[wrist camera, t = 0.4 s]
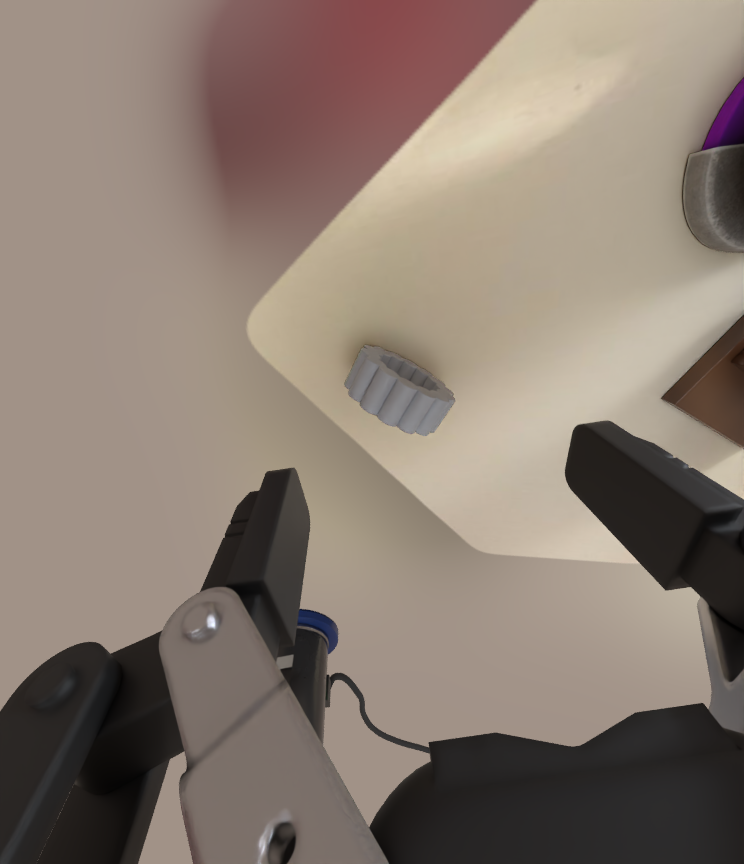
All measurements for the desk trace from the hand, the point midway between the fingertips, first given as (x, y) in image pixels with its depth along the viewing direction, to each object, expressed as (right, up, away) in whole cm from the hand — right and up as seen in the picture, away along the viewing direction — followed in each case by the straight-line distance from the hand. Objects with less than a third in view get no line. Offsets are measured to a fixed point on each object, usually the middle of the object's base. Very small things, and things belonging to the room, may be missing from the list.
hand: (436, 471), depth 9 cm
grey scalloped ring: (0, +6, +19) cm, 20 cm away
